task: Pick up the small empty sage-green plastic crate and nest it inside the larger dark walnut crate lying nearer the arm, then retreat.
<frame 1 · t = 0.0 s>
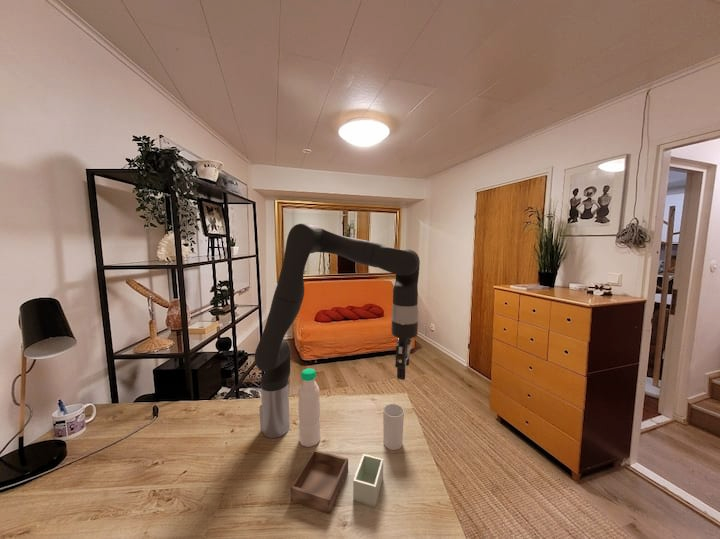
hand: (403, 371, 80), 29 cm above the table, fingers open, 8 cm apart
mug: (393, 439, 92), on the table
water bottle: (310, 440, 92), on the table
walnut crate: (321, 485, 75), on the table
sage crate: (368, 488, 74), on the table
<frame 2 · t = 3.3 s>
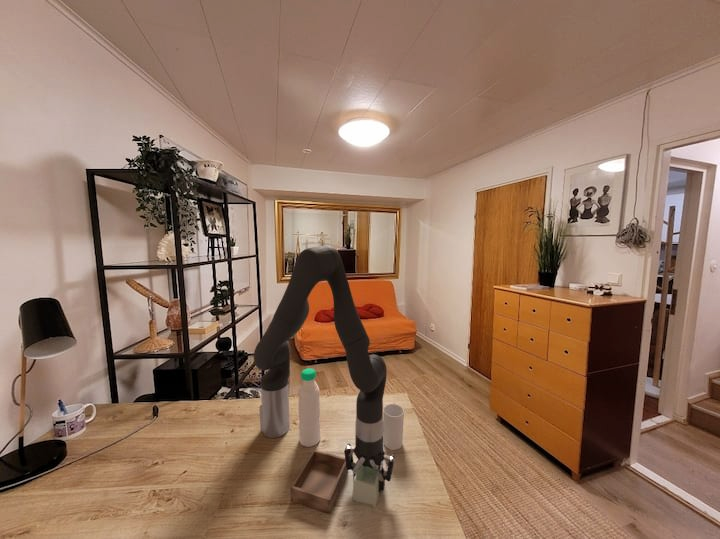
hand: (368, 486, 74), 1 cm above the table, fingers closed on sage crate, 6 cm apart
sage crate: (368, 488, 74), on the table, touching gripper
everything else where it was.
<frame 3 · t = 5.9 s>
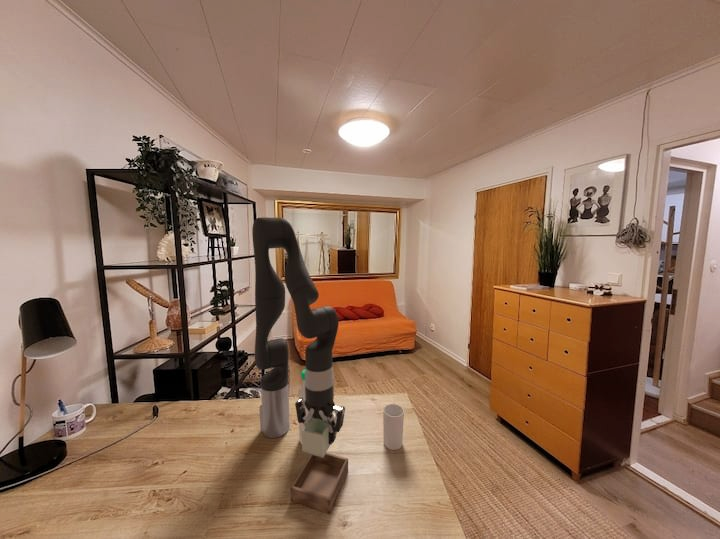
hand: (320, 439, 73), 14 cm above the table, fingers closed on sage crate, 6 cm apart
sage crate: (320, 442, 74), point 13 cm above the table, touching gripper
everything else where it was.
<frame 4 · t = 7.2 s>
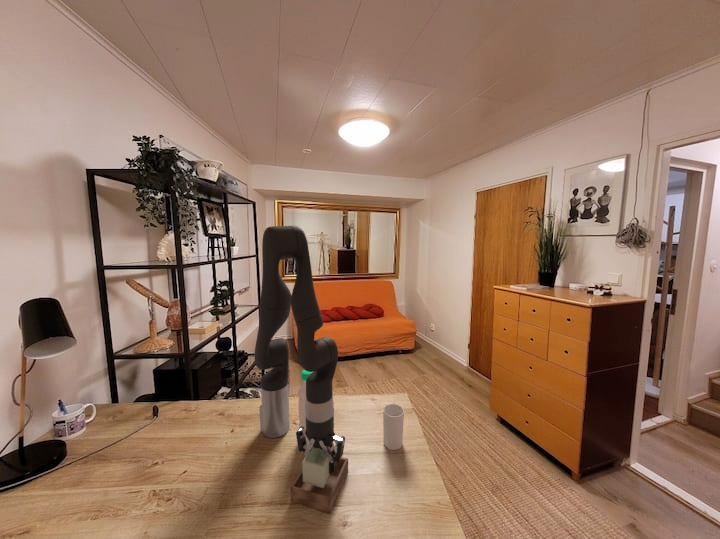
hand: (320, 468, 74), 5 cm above the table, fingers closed on sage crate, 6 cm apart
sage crate: (320, 470, 74), point 5 cm above the table, touching gripper
everything else where it was.
when the fingers open (4 cm above the table, at t = 8.5 s): sage crate drops 2 cm, resting on walnut crate.
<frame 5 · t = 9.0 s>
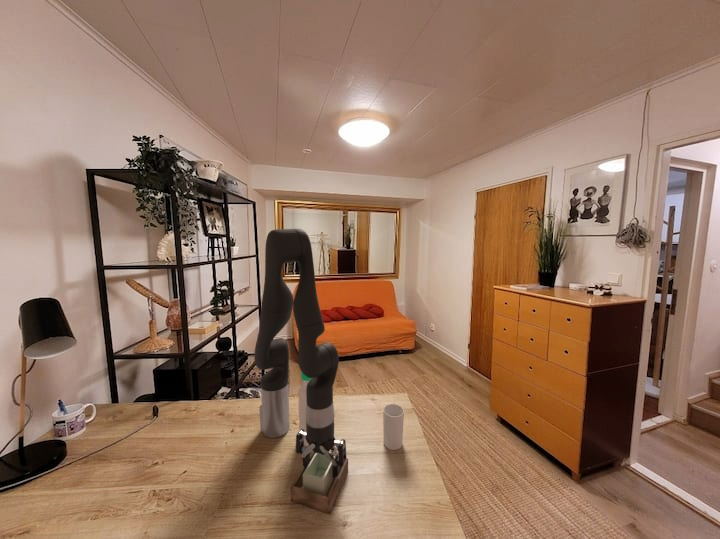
hand: (321, 470, 75), 4 cm above the table, fingers open, 8 cm apart
walnut crate: (321, 485, 75), on the table, touching sage crate
sage crate: (320, 483, 75), point 1 cm above the table, touching walnut crate
everything else where it was.
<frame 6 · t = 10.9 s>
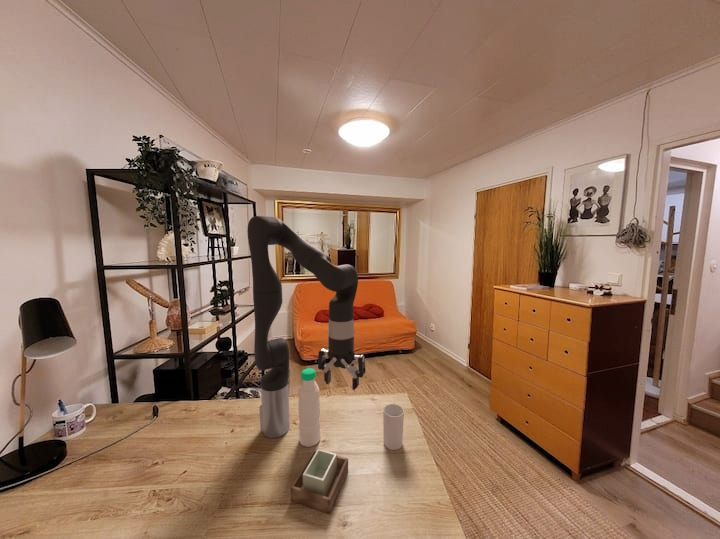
hand: (341, 385, 80), 25 cm above the table, fingers open, 8 cm apart
nothing on the table moved.
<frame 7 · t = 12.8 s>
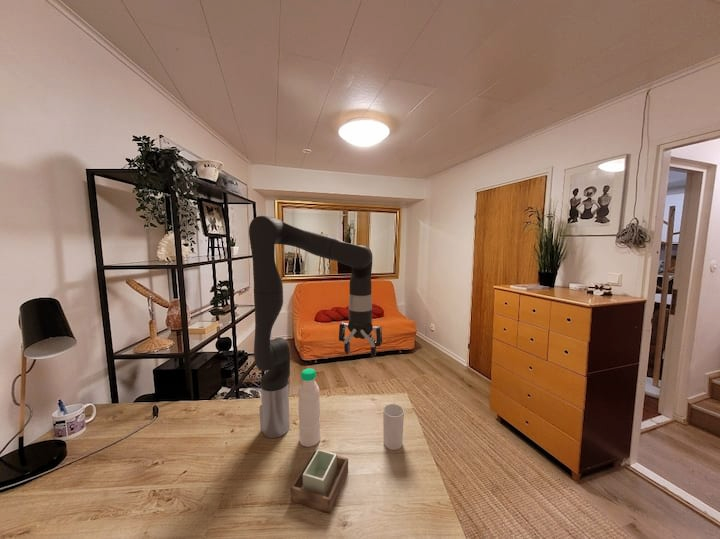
hand: (360, 355, 89), 30 cm above the table, fingers open, 8 cm apart
nothing on the table moved.
at the end: sage crate 0.1 cm off-centre on the walnut crate, point 0.6 cm above the walnut crate's base; sage crate tilted 0°; the gripper is holding nothing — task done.
